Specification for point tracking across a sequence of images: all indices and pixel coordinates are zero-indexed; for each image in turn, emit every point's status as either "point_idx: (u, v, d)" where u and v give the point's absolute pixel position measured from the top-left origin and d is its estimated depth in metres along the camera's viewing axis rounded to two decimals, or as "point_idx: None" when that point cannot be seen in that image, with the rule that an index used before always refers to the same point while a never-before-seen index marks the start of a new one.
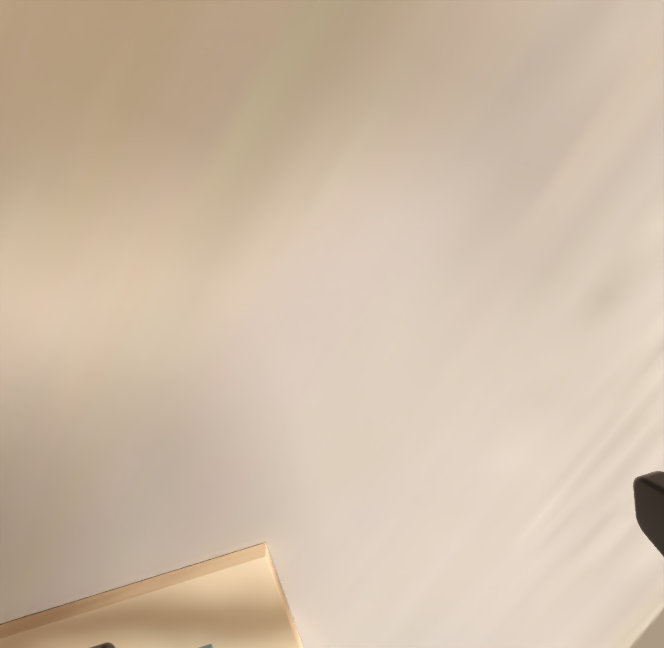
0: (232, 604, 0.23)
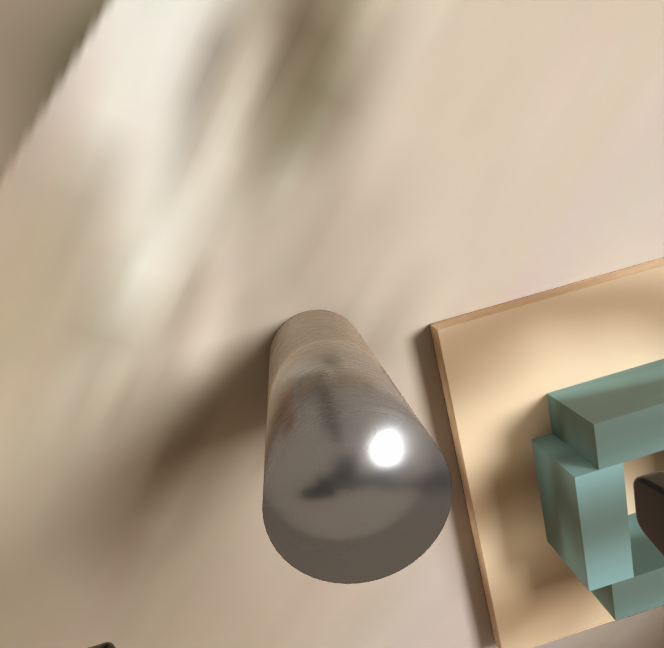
0: None
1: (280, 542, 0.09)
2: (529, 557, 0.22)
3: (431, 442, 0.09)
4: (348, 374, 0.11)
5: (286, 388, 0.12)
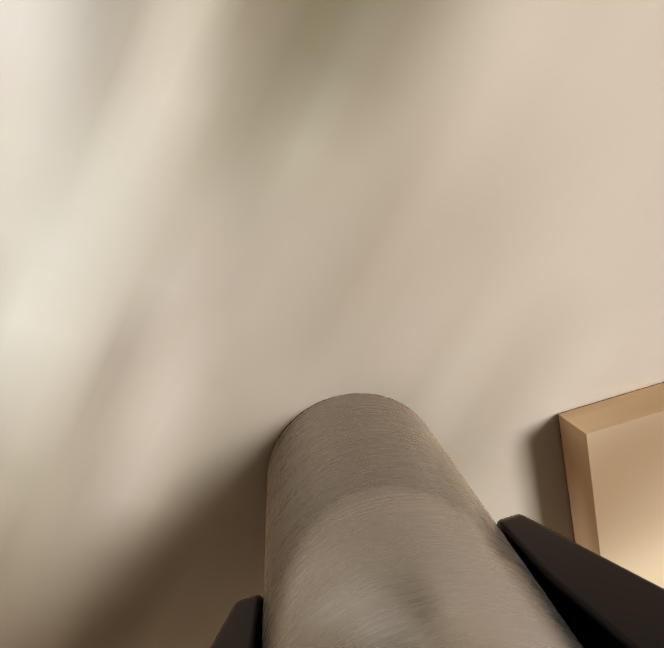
0: None
1: None
2: None
3: None
4: None
5: None
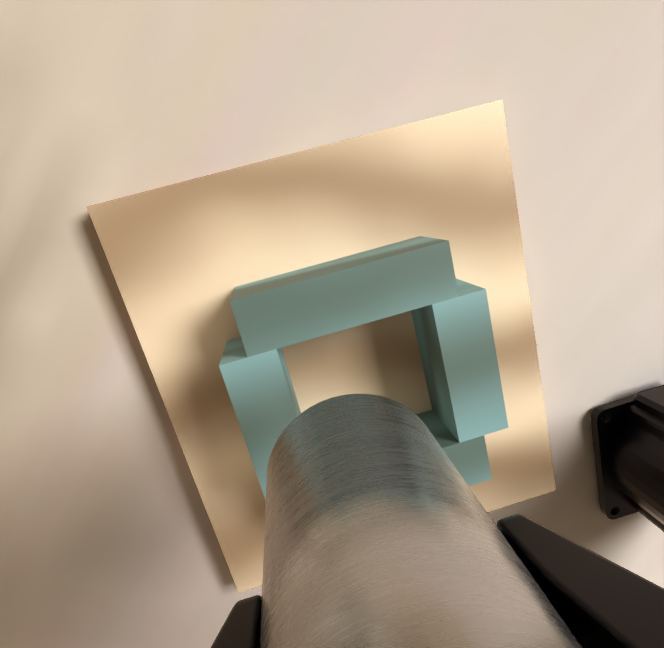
0: (452, 174, 0.18)
1: None
2: (248, 478, 0.20)
3: None
4: None
5: None
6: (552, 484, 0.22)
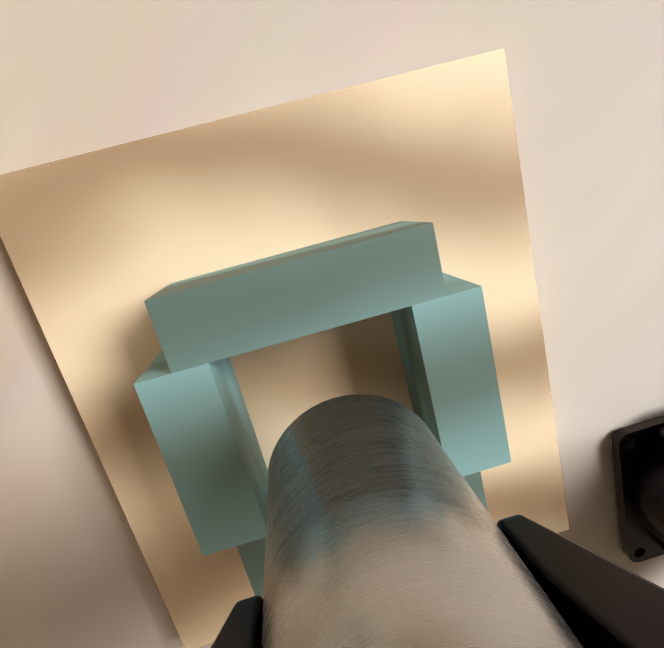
0: (441, 143, 0.14)
1: None
2: None
3: None
4: None
5: None
6: (565, 522, 0.18)
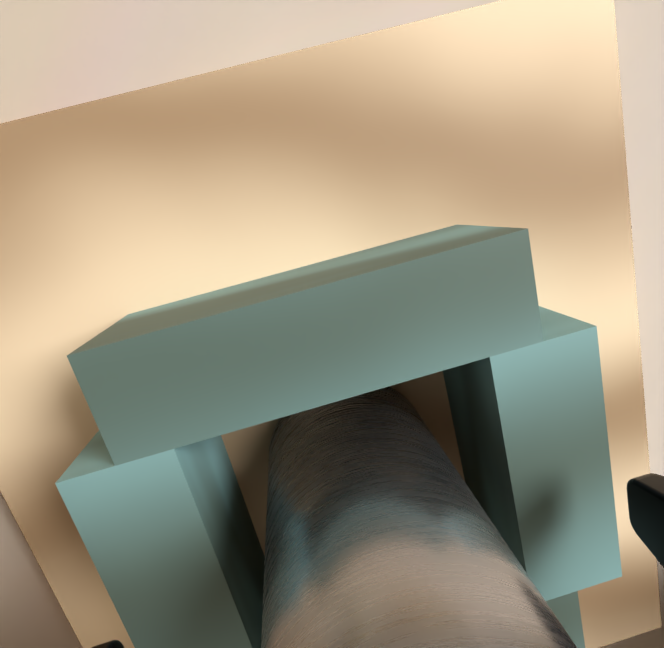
0: (517, 114, 0.10)
1: None
2: None
3: None
4: None
5: None
6: (656, 618, 0.14)
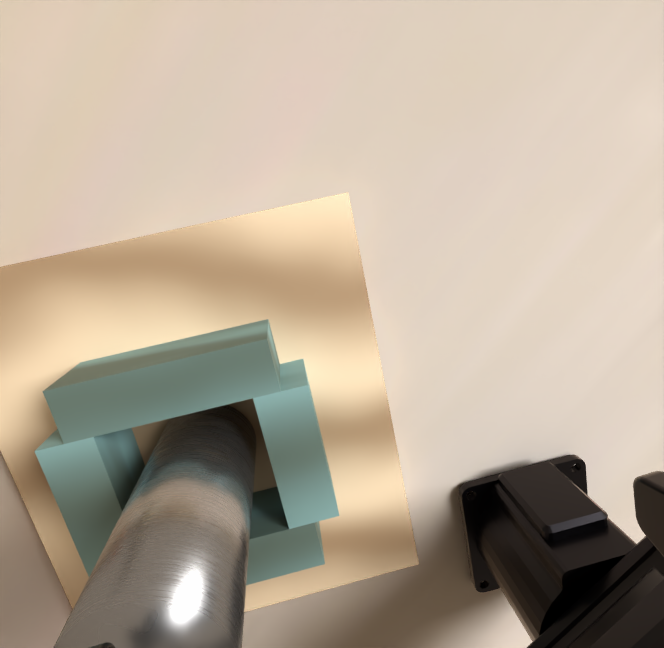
0: (299, 261, 0.18)
1: None
2: None
3: (214, 623, 0.10)
4: (170, 524, 0.11)
5: (118, 528, 0.12)
6: (415, 558, 0.22)
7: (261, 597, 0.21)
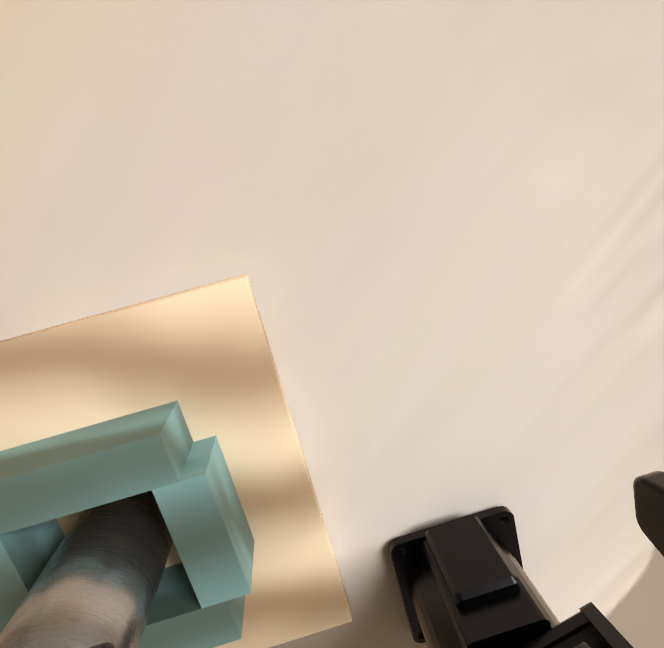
0: (203, 345, 0.18)
1: None
2: None
3: None
4: None
5: None
6: (348, 616, 0.22)
7: None
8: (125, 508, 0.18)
